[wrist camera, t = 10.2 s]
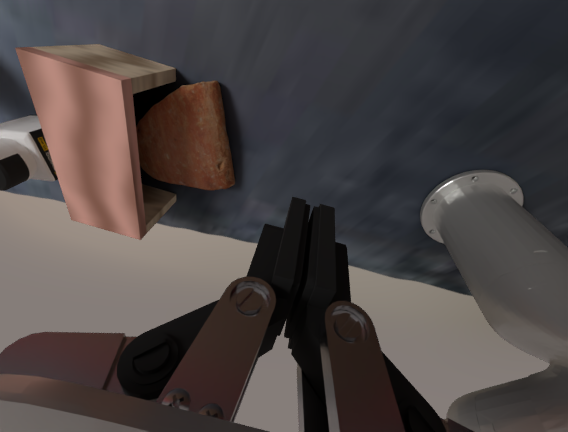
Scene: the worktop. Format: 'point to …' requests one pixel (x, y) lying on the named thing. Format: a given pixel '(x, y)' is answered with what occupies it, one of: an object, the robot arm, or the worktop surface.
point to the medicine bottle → (24, 153)
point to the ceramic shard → (187, 139)
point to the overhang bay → (96, 131)
